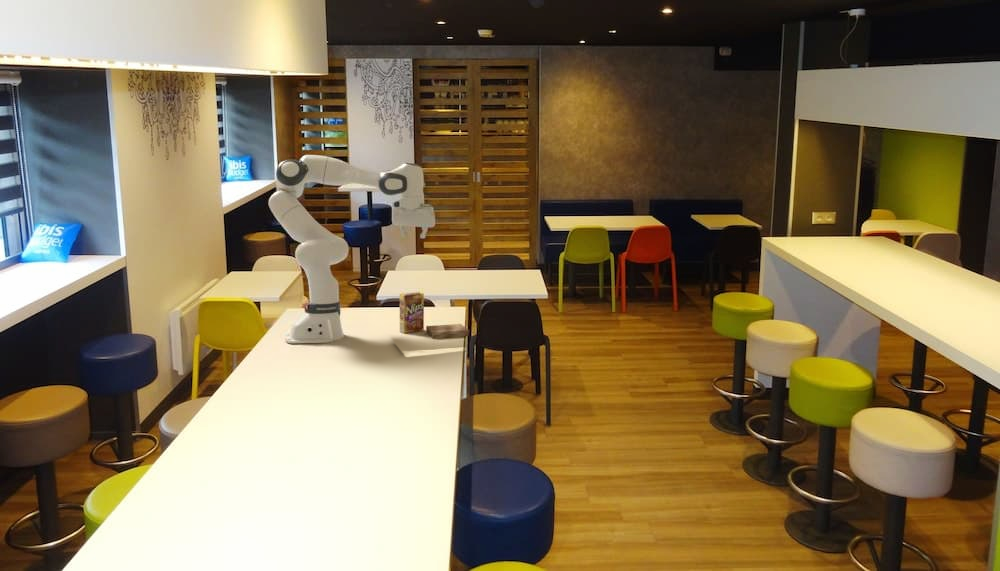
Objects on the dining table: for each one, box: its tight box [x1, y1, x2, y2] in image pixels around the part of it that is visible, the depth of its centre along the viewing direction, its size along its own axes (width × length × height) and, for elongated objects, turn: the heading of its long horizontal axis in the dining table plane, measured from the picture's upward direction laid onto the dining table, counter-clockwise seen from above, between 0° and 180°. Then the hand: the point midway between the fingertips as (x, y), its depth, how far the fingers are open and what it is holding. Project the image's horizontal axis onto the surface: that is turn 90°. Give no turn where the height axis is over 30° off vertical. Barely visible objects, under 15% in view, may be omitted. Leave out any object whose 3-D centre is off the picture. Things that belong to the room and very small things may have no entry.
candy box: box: [399, 291, 425, 334], centre depth 345 cm, size 9×4×15 cm, turn 123°
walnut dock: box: [425, 323, 470, 340], centre depth 340 cm, size 14×12×2 cm
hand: (413, 237), depth 358 cm, fingers open, 8 cm apart
